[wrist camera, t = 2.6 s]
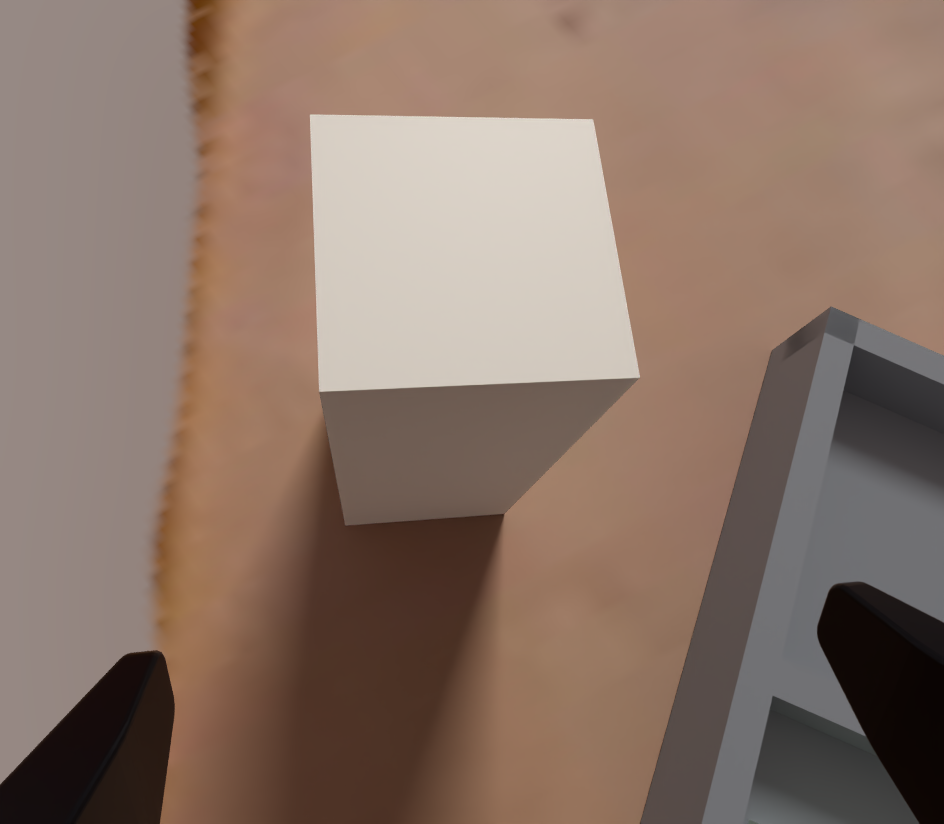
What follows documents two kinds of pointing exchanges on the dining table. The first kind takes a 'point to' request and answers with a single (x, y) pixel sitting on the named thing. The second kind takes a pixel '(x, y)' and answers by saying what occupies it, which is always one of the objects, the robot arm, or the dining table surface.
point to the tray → (808, 583)
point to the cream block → (461, 307)
